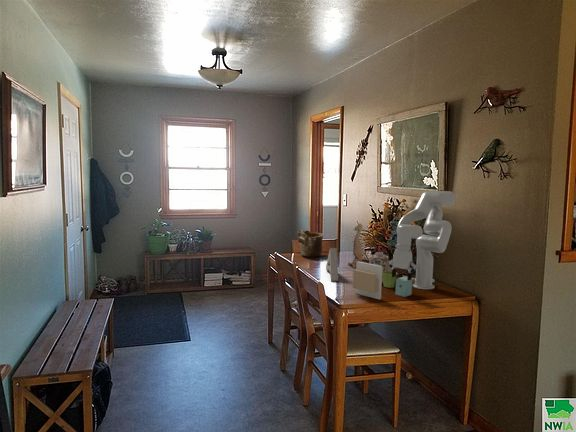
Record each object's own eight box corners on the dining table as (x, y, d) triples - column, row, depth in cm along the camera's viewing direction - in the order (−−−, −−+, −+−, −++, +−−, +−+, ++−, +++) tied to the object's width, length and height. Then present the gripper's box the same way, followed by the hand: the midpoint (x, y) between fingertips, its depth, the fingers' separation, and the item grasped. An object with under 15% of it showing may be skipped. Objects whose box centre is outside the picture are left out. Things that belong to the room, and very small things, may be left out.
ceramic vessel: (337, 247, 349) (319, 223, 342) (314, 267, 345) (296, 243, 339) (327, 242, 370) (310, 219, 364) (305, 261, 367) (287, 238, 360)
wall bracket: (333, 296, 298) (338, 280, 271) (326, 296, 297) (331, 280, 271) (332, 266, 309) (337, 248, 283) (325, 266, 309) (330, 247, 282)
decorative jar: (388, 279, 282) (389, 251, 281) (387, 283, 271) (388, 254, 269) (369, 277, 285) (370, 250, 284) (367, 281, 274) (368, 253, 273)
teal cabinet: (405, 291, 254) (405, 276, 253) (414, 293, 250) (415, 278, 249) (394, 294, 246) (395, 279, 245) (404, 297, 242) (405, 281, 241)
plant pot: (378, 284, 268) (379, 270, 267) (394, 284, 268) (394, 270, 268) (383, 288, 258) (383, 274, 258) (398, 288, 259) (399, 274, 258)
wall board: (356, 292, 248) (358, 261, 246) (380, 299, 237) (382, 266, 235) (351, 294, 244) (352, 262, 242) (375, 300, 233) (376, 267, 231)
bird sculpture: (346, 265, 323) (347, 222, 319) (361, 264, 326) (362, 222, 322) (353, 269, 312) (353, 224, 309) (368, 268, 315) (369, 224, 312)
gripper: (386, 246, 246) (384, 276, 247) (414, 250, 234) (412, 282, 235) (393, 245, 251) (391, 274, 253) (421, 249, 239) (419, 280, 240)
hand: (401, 278), depth 244 cm, fingers open, 9 cm apart
